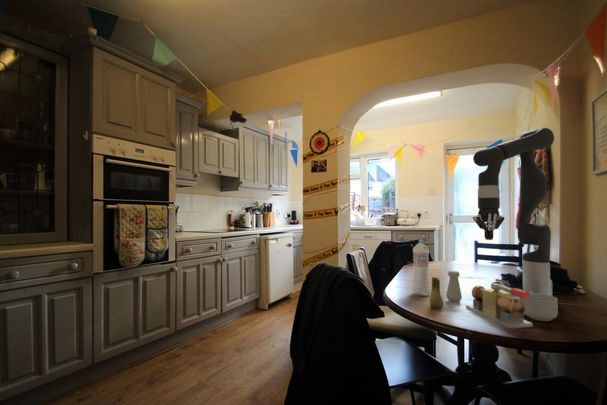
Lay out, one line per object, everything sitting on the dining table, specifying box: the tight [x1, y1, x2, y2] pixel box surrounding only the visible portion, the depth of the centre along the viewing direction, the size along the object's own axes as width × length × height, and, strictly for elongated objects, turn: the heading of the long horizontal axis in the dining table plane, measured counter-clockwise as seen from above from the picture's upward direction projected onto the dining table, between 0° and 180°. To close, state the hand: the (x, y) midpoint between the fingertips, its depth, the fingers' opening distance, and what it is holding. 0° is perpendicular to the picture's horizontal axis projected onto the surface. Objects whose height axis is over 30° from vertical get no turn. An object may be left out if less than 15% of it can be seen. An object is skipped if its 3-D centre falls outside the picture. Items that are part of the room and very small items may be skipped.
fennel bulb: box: [429, 276, 444, 310], centre depth 115 cm, size 6×5×12 cm
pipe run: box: [465, 285, 534, 329], centre depth 106 cm, size 9×20×10 cm, turn 8°
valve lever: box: [490, 282, 529, 299], centre depth 101 cm, size 14×3×2 cm, turn 8°
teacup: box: [519, 292, 559, 322], centre depth 106 cm, size 14×11×8 cm
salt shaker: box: [445, 269, 463, 304], centre depth 123 cm, size 6×6×13 cm
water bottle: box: [412, 239, 430, 297], centre depth 134 cm, size 7×7×25 cm
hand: (489, 239), depth 117 cm, fingers closed
